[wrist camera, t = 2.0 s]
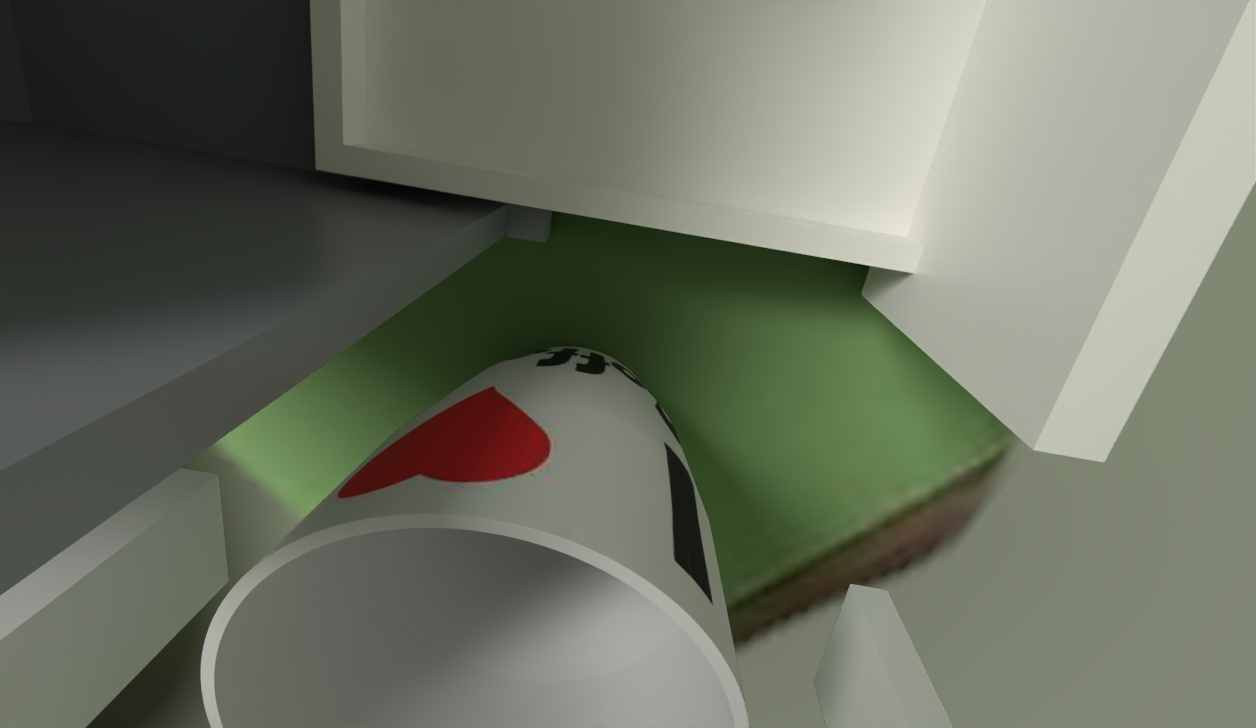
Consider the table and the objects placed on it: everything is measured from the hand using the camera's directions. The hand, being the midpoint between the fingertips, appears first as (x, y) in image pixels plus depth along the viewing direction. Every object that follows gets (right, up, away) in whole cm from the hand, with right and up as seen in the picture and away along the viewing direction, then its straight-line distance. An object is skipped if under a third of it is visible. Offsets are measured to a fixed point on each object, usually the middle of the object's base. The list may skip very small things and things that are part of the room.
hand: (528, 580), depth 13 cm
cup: (0, +3, +6) cm, 6 cm away
